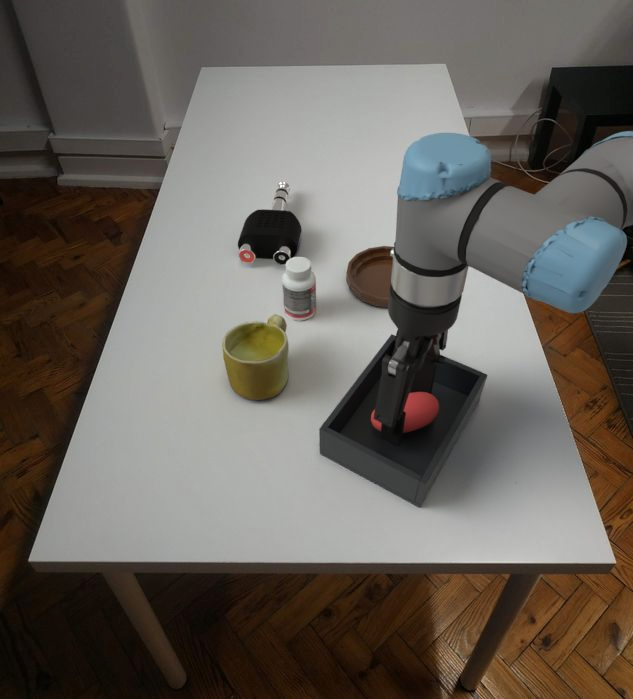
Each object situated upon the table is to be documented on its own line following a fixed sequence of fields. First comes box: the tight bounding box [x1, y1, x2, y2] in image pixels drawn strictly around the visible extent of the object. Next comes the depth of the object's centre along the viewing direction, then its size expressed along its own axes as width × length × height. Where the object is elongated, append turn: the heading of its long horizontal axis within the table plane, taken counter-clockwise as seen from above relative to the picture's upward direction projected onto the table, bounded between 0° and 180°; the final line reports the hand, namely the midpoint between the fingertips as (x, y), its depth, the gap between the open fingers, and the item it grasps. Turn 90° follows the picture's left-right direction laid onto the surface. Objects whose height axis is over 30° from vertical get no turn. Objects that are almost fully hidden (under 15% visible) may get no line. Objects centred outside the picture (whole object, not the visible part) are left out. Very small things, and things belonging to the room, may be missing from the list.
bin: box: [318, 333, 488, 509], centre depth 74 cm, size 15×20×6 cm
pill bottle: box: [281, 256, 317, 322], centre depth 89 cm, size 5×5×10 cm
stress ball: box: [371, 392, 439, 433], centre depth 73 cm, size 5×9×6 cm
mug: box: [221, 313, 289, 401], centre depth 81 cm, size 12×10×10 cm
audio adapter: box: [237, 181, 303, 266], centre depth 107 cm, size 11×5×25 cm
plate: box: [345, 245, 394, 308], centre depth 96 cm, size 14×14×2 cm
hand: (406, 416), depth 75 cm, fingers closed on stress ball, 8 cm apart
